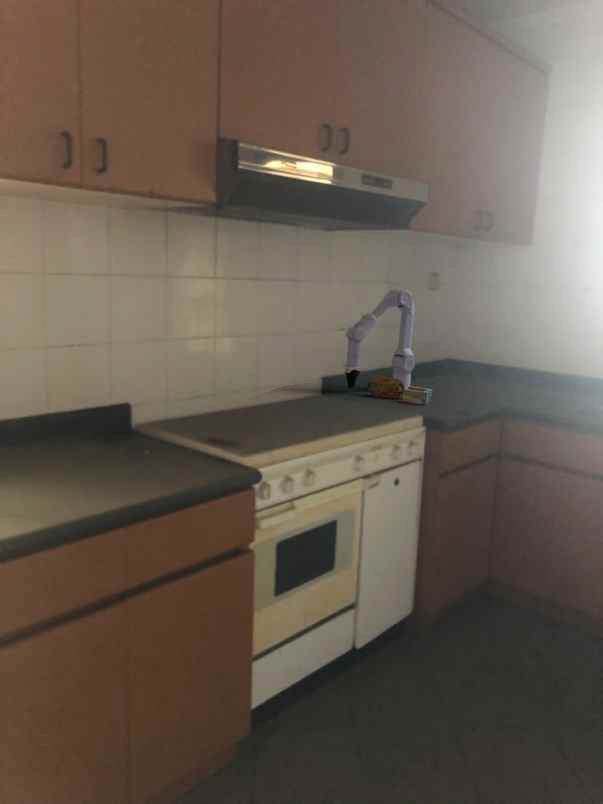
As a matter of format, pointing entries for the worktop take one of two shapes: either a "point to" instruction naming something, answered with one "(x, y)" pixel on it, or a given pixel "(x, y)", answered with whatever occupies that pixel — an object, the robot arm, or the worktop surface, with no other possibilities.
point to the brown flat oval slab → (386, 387)
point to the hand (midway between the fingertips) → (351, 387)
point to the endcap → (417, 395)
